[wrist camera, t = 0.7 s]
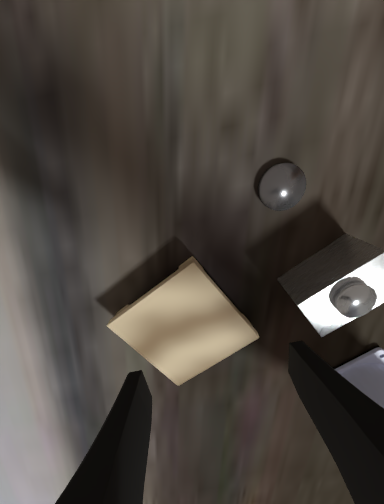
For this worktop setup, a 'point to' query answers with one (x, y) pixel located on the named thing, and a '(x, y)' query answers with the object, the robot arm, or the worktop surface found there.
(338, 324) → the housing
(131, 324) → the stand
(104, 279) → the worktop surface
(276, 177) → the round metal disc
